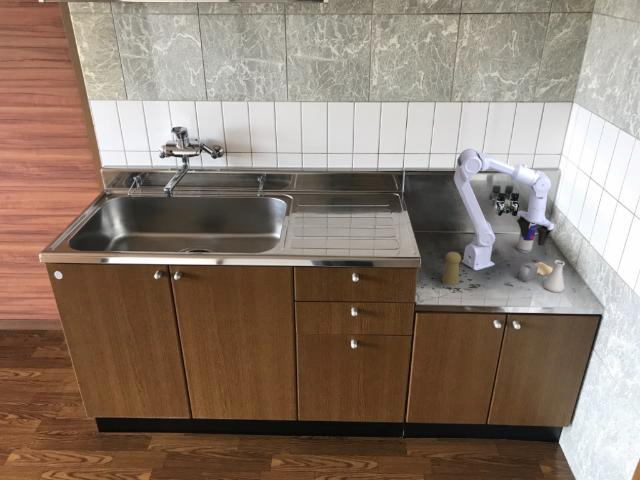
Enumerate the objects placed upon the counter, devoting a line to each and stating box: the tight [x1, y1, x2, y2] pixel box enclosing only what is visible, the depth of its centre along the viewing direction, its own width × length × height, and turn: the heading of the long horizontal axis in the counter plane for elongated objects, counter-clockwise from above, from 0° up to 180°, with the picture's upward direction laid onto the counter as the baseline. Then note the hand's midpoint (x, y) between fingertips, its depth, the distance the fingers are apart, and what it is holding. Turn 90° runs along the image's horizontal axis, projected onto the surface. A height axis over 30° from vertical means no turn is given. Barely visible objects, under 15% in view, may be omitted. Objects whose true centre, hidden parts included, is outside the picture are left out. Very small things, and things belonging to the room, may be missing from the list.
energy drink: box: [516, 222, 538, 254], centre depth 201 cm, size 5×5×12 cm
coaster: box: [533, 261, 554, 277], centre depth 190 cm, size 7×7×1 cm
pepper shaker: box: [441, 251, 462, 286], centre depth 181 cm, size 6×6×11 cm
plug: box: [517, 262, 539, 283], centre depth 184 cm, size 8×4×5 cm, turn 117°
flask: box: [542, 259, 566, 293], centre depth 177 cm, size 7×7×10 cm
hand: (532, 240), depth 188 cm, fingers open, 7 cm apart
